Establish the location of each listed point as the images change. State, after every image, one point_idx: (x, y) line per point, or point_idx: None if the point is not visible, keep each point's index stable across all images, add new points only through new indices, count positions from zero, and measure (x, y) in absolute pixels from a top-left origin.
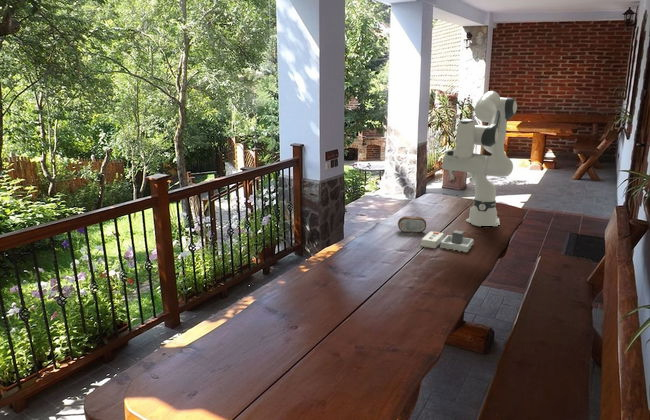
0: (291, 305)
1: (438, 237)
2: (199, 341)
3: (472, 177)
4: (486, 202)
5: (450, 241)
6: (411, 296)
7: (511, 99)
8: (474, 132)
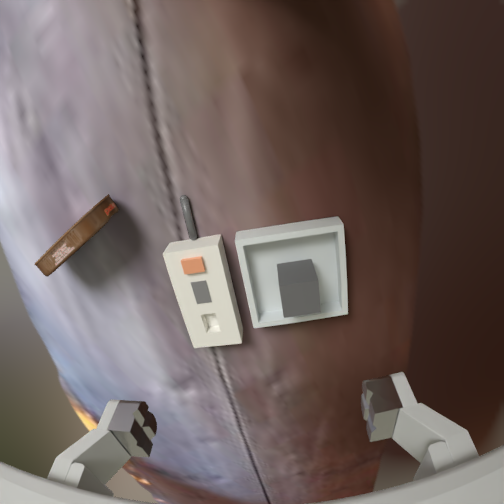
0: None
1: (227, 302)
2: None
3: (409, 441)
4: None
5: (257, 248)
6: (312, 483)
7: None
8: None
